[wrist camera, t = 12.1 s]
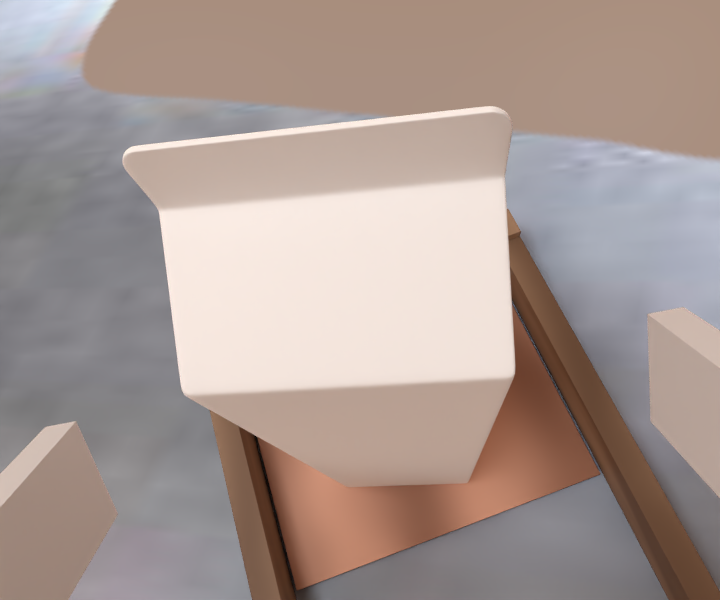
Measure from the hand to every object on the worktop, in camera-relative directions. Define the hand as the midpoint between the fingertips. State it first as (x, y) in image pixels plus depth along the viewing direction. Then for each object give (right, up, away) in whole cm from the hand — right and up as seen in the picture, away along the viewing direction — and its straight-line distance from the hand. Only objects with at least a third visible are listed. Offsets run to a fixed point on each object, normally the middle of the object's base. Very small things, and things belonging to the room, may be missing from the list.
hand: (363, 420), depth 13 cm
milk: (+2, -4, +15) cm, 16 cm away
